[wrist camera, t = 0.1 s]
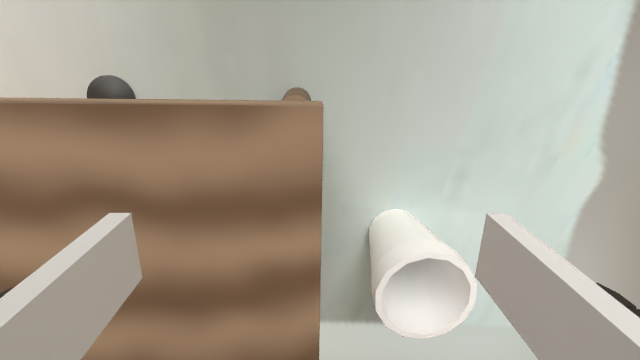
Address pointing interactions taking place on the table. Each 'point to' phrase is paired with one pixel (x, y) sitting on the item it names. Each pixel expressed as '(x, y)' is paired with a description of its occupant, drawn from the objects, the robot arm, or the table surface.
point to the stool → (176, 214)
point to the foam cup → (417, 278)
